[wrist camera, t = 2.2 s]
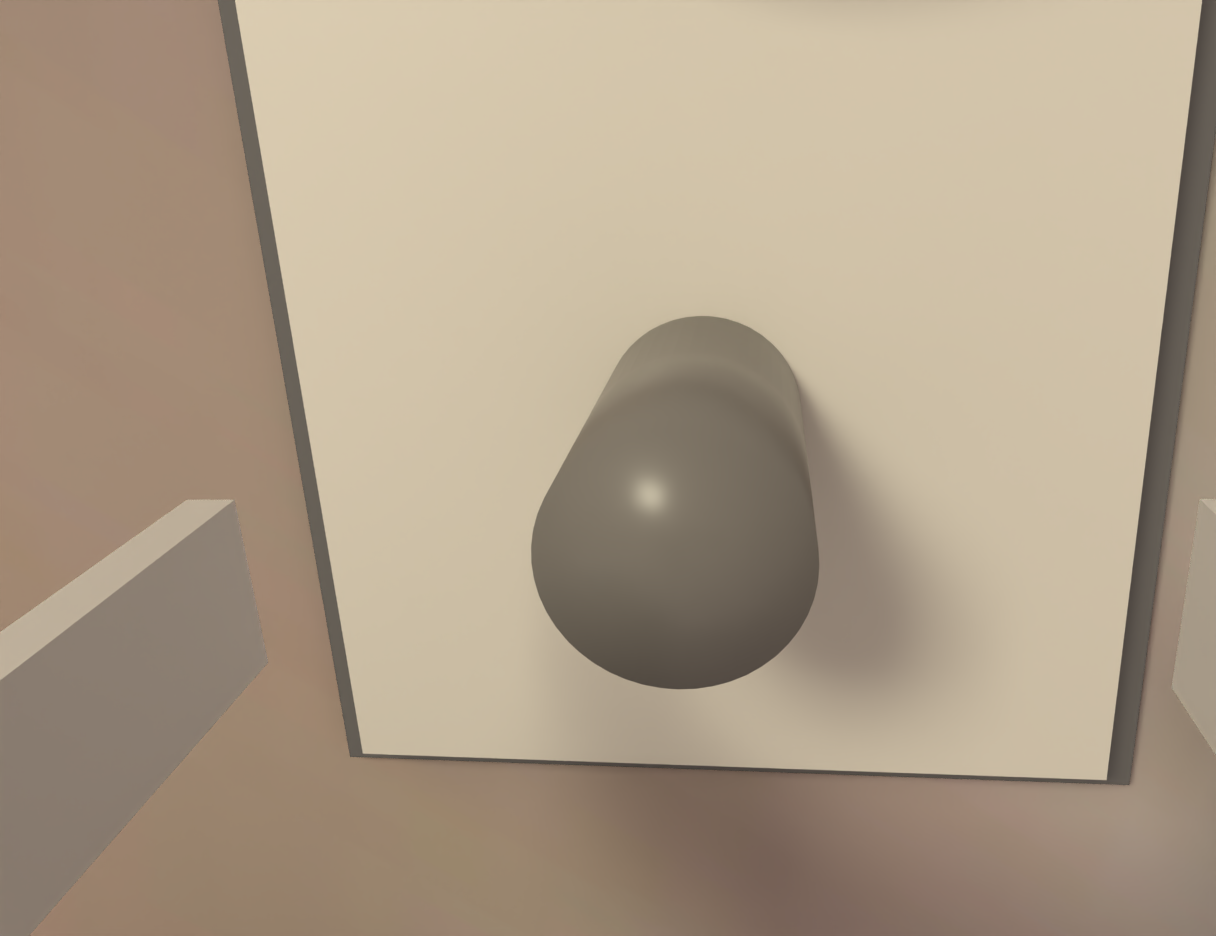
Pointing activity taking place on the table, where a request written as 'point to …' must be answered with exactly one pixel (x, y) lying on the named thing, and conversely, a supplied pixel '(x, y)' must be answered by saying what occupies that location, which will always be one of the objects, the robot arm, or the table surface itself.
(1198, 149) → the mat
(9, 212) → the table surface
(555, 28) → the lid
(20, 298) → the table surface
